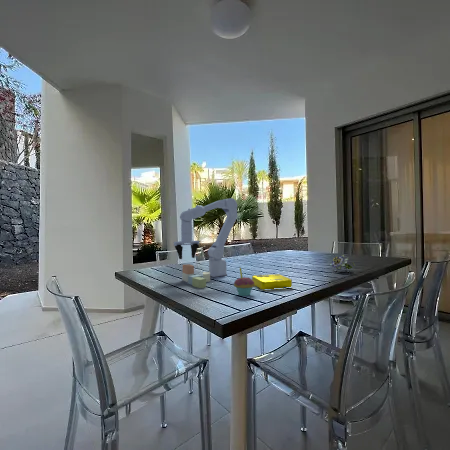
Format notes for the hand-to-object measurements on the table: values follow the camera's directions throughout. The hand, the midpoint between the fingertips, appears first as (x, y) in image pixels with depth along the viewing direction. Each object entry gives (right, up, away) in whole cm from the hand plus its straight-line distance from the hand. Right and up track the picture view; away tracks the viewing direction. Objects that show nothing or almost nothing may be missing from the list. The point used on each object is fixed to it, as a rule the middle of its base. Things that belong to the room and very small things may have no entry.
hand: (186, 258), depth 158 cm
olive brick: (+8, -11, -21) cm, 25 cm away
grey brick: (+2, -11, -8) cm, 13 cm away
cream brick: (+11, -11, -8) cm, 17 cm away
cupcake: (+29, -11, -36) cm, 47 cm away
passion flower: (+90, -10, +16) cm, 92 cm away
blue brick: (+6, -11, -15) cm, 19 cm away
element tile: (+42, -11, -20) cm, 48 cm away
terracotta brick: (+2, -7, -8) cm, 11 cm away
